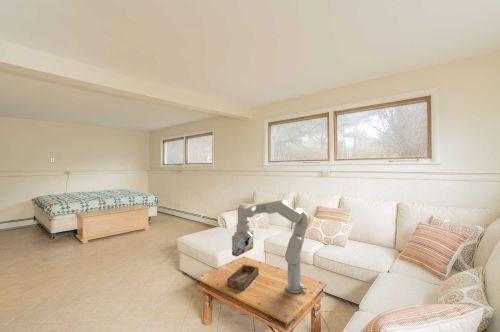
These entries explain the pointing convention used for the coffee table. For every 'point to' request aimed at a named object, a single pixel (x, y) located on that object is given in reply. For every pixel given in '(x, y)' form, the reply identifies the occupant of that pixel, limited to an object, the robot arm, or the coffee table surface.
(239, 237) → the snack box
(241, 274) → the walnut crate
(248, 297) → the coffee table surface
